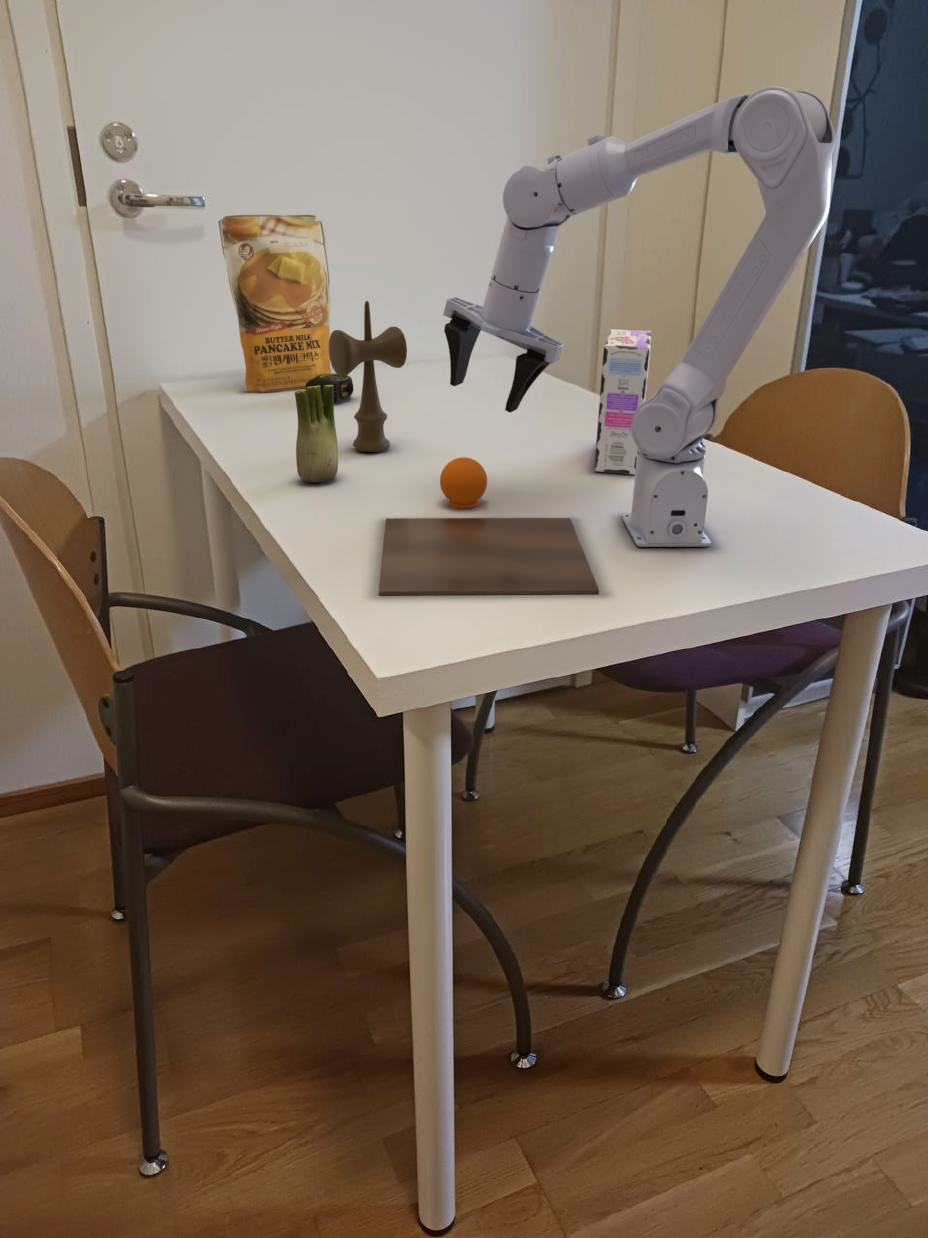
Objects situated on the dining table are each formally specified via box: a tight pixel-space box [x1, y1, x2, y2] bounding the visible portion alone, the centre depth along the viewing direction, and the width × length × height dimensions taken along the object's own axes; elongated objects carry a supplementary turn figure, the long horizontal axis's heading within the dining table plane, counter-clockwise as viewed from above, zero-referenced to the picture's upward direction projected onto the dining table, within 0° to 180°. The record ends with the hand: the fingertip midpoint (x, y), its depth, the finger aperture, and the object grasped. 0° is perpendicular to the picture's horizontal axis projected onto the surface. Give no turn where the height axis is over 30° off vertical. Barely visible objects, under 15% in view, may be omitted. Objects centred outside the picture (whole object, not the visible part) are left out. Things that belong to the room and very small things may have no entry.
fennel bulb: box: [294, 385, 339, 484], centre depth 120 cm, size 6×5×12 cm
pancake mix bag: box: [217, 214, 332, 393], centre depth 164 cm, size 7×19×28 cm, turn 120°
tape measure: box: [305, 372, 354, 402], centre depth 161 cm, size 7×7×4 cm
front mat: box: [378, 517, 600, 596], centre depth 101 cm, size 20×21×1 cm
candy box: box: [594, 328, 652, 476], centre depth 129 cm, size 14×6×16 cm, turn 168°
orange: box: [439, 456, 488, 509], centre depth 114 cm, size 6×6×6 cm
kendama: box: [329, 300, 408, 453], centre depth 131 cm, size 6×10×20 cm, turn 123°
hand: (483, 396), depth 114 cm, fingers open, 7 cm apart
